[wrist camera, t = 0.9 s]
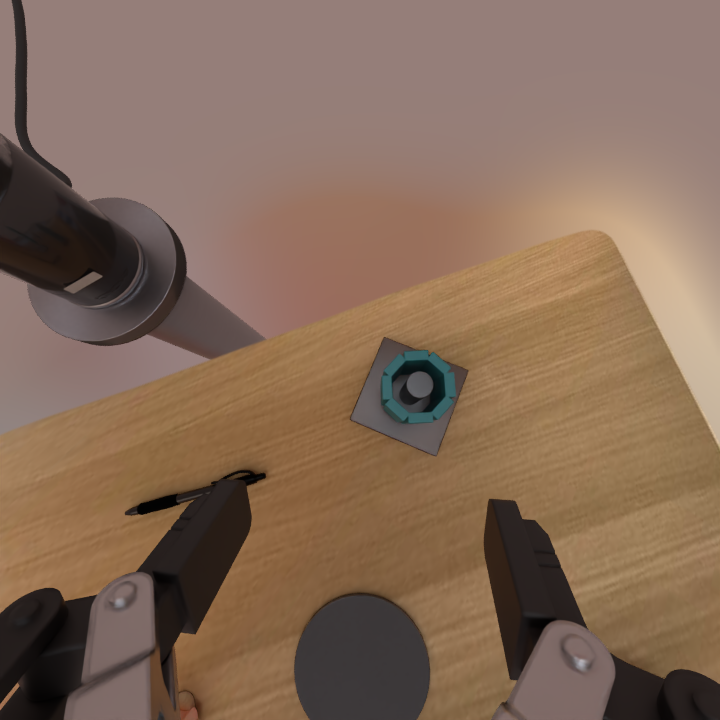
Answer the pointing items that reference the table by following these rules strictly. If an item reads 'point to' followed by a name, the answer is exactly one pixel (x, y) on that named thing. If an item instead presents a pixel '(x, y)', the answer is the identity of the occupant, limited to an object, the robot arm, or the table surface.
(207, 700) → the table surface
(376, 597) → the slate coaster
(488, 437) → the table surface
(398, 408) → the teal octagonal tube
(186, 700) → the grandmother figurine
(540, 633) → the robot arm
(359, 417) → the holder
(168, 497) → the pen
